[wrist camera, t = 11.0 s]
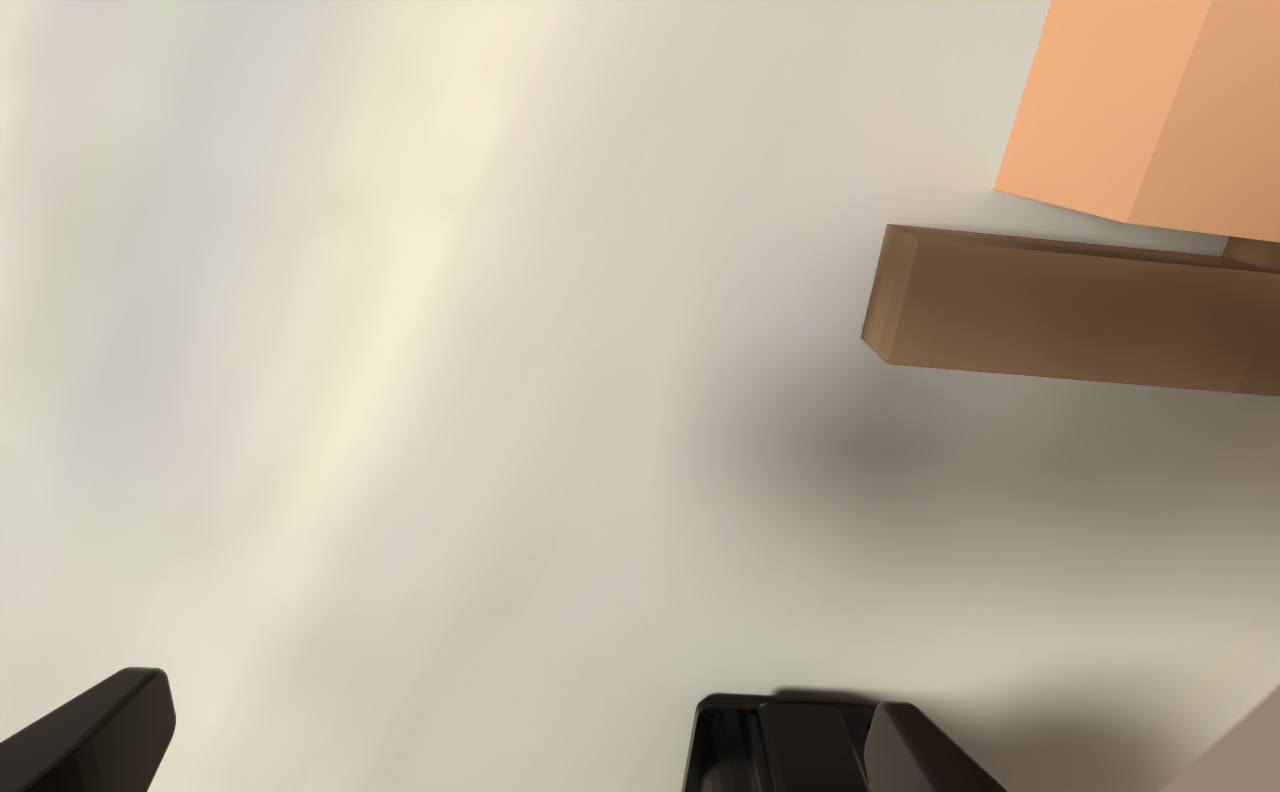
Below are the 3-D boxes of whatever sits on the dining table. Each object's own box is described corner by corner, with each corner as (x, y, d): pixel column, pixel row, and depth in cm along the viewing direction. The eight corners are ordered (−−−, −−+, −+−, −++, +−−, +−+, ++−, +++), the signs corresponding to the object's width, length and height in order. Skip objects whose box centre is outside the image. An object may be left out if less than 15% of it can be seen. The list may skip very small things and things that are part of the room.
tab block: (1142, 208, 18) (1324, 247, 13) (991, 188, 18) (1126, 222, 13) (1249, -68, 16) (1515, -135, 11) (1079, -96, 15) (1280, -177, 11)
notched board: (1310, 375, 20) (1382, 404, 18) (861, 337, 19) (887, 363, 17) (1631, -261, 14) (1781, -314, 13) (1022, -360, 13) (1087, -431, 12)
